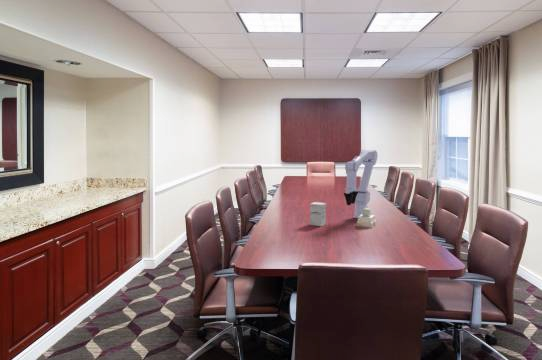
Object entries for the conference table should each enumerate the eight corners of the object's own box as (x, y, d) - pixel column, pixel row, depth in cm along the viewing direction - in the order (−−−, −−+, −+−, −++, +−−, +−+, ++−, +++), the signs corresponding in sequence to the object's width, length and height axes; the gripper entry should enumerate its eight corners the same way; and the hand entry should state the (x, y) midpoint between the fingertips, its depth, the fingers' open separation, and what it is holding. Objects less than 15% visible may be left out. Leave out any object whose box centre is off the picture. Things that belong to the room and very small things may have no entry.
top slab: (361, 219, 229) (361, 214, 229) (374, 220, 226) (374, 215, 225) (357, 221, 223) (358, 216, 222) (371, 223, 219) (371, 217, 219)
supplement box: (309, 225, 225) (309, 203, 223) (314, 222, 231) (314, 201, 230) (321, 226, 221) (321, 204, 220) (326, 224, 228) (326, 202, 226)
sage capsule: (363, 214, 227) (363, 208, 226) (371, 215, 225) (371, 208, 224) (361, 216, 223) (361, 209, 222) (369, 217, 221) (369, 210, 220)
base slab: (360, 223, 230) (361, 218, 230) (376, 225, 226) (376, 220, 226) (356, 226, 223) (356, 221, 222) (372, 228, 218) (372, 223, 218)
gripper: (348, 180, 241) (347, 202, 242) (341, 182, 228) (340, 205, 229) (359, 181, 237) (359, 203, 238) (352, 183, 224) (352, 206, 226)
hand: (350, 204), depth 233 cm, fingers open, 7 cm apart
